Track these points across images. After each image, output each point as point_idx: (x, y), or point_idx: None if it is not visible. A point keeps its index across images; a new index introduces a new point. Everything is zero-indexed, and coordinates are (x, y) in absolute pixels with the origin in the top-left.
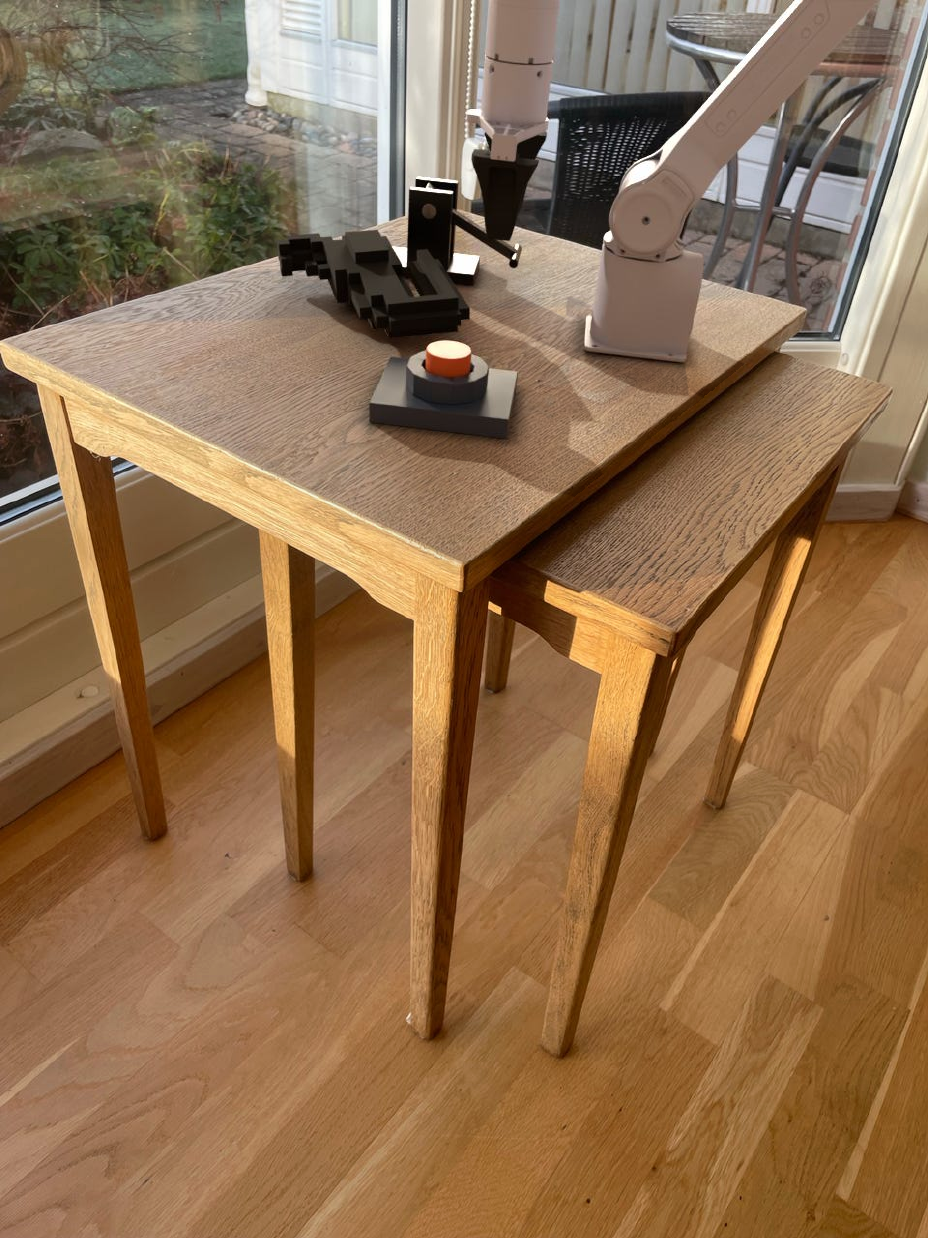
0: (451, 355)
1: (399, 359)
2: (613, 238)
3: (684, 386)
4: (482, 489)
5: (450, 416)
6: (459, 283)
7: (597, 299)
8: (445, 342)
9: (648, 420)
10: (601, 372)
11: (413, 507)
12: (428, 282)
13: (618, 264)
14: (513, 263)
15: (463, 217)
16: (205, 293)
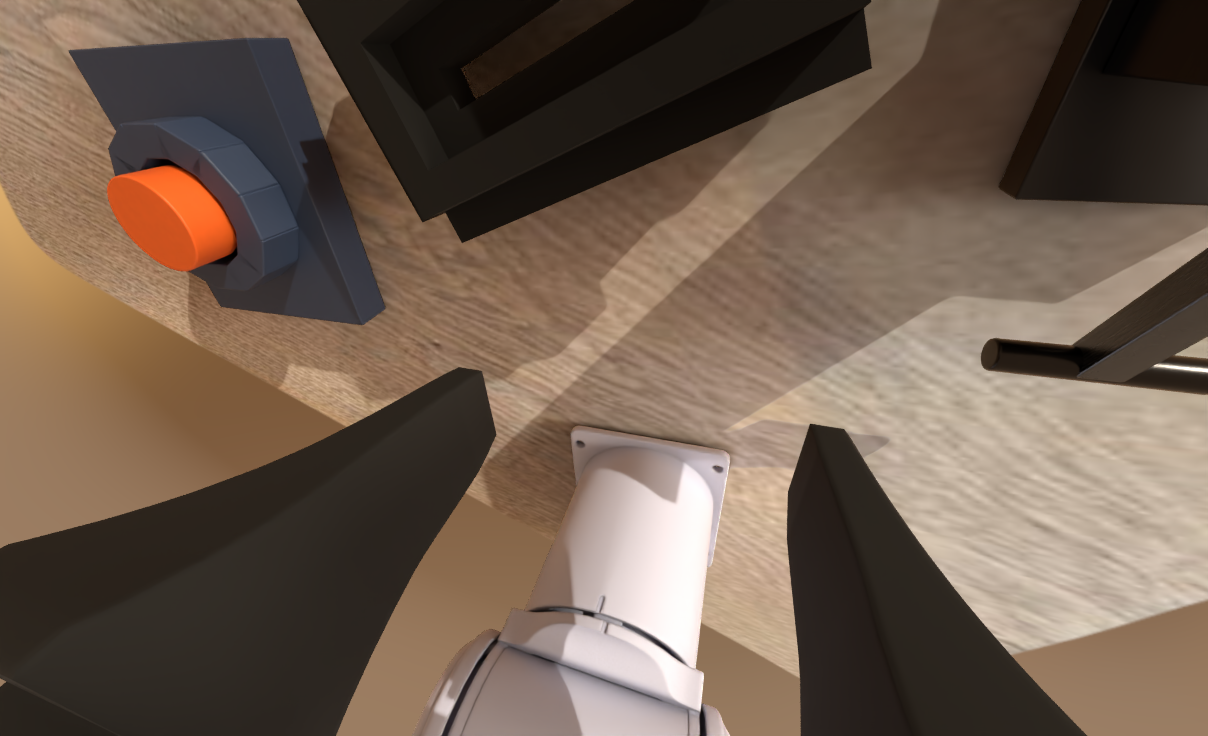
0: (136, 234)
1: (249, 70)
2: (535, 639)
3: (518, 512)
4: (137, 264)
5: None
6: (1023, 133)
7: (601, 503)
8: (168, 215)
9: None
10: (513, 433)
11: (38, 181)
12: (601, 73)
13: (535, 593)
14: (988, 354)
15: None
16: None
